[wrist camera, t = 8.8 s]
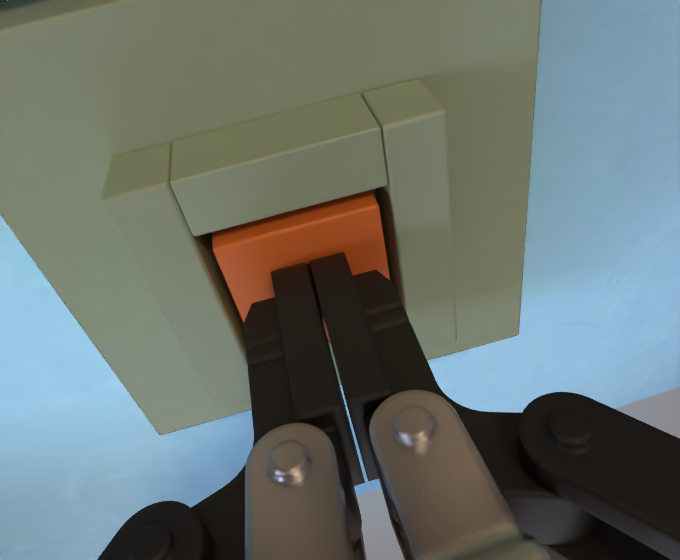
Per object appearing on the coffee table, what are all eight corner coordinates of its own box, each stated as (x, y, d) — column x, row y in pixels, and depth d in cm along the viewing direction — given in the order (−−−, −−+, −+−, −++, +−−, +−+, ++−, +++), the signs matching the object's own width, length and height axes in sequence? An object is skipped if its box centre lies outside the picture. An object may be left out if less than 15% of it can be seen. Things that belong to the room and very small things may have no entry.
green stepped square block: (-62, 16, 10) (-167, 97, 7) (491, -119, 11) (607, -95, 8) (162, 373, 18) (156, 487, 15) (487, 284, 18) (545, 377, 15)
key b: (209, 205, 11) (211, 249, 10) (360, 165, 11) (379, 204, 10) (252, 312, 13) (258, 360, 12) (379, 278, 13) (397, 321, 12)
